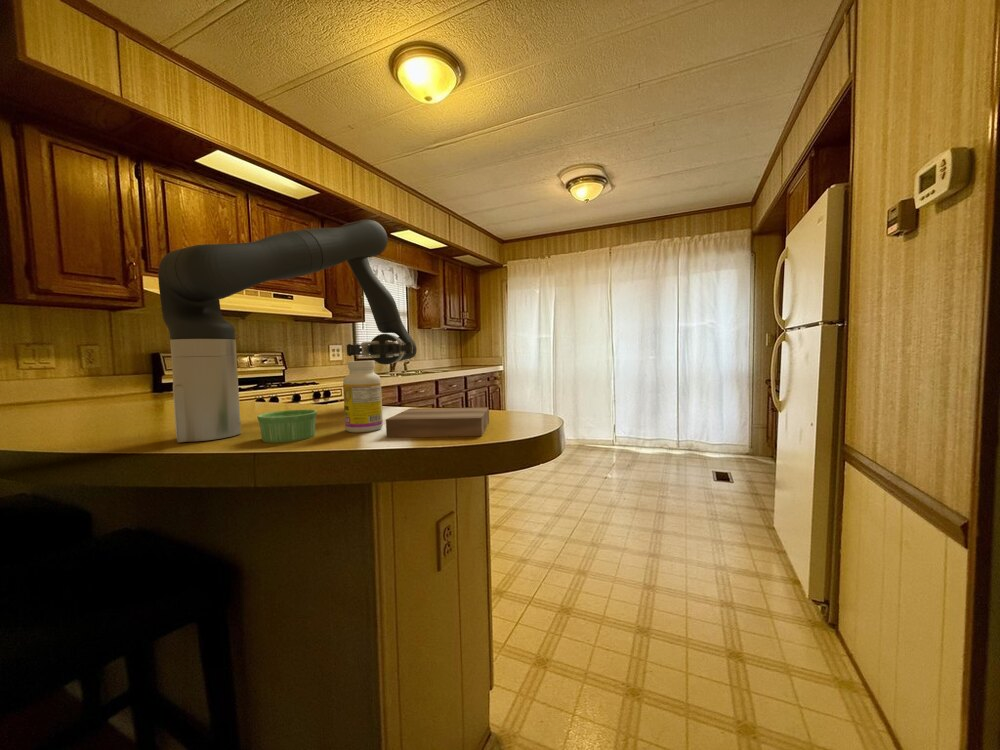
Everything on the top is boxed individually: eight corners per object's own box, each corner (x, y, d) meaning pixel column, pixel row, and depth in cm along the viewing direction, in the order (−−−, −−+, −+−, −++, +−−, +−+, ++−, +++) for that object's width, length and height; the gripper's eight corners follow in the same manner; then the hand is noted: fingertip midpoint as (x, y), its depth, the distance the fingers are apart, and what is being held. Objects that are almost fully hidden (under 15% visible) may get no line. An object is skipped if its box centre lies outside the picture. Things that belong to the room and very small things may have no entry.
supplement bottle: (349, 427, 76) (345, 361, 75) (384, 425, 77) (381, 360, 76) (342, 434, 69) (338, 361, 68) (381, 432, 70) (377, 360, 70)
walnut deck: (481, 436, 64) (481, 418, 64) (386, 437, 65) (385, 419, 65) (489, 422, 77) (488, 407, 77) (409, 423, 78) (409, 408, 78)
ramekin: (247, 445, 63) (245, 418, 62) (275, 434, 72) (273, 410, 71) (305, 442, 63) (304, 415, 63) (325, 432, 72) (324, 408, 72)
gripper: (358, 335, 99) (339, 332, 83) (415, 333, 100) (407, 330, 84) (360, 365, 99) (341, 367, 83) (417, 362, 101) (409, 365, 85)
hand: (374, 349), depth 84 cm, fingers open, 8 cm apart
